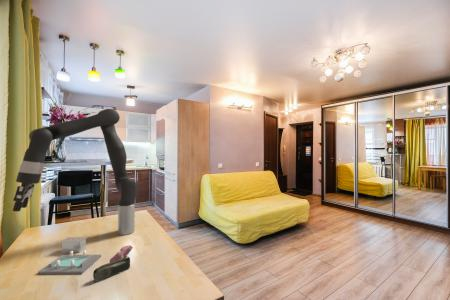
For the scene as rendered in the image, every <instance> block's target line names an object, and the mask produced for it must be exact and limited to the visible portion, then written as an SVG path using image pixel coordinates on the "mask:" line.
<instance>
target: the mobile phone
mask: <svg viewBox="0 0 450 300" xmlns="http://www.w3.org/2000/svg"><path fill="white" fill-rule="evenodd" d="M129 269H131V258H130V257H129V256H127V257H125V258H124V257H123V259H121V260H117V261H114V262H111V263H110V262H108V263H105V264H102V265H100V266H98V267H97V268H95V269H94V270H93V273H92V277H93V280H92V281H91V282H89V285H92V284H95V283H97V282H100V281H102V280H104V279H108V278H111V277H112V276H115V275H118V274H121V273H123V272H126V271H127V270H129ZM120 272H121V273H120Z"/></svg>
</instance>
